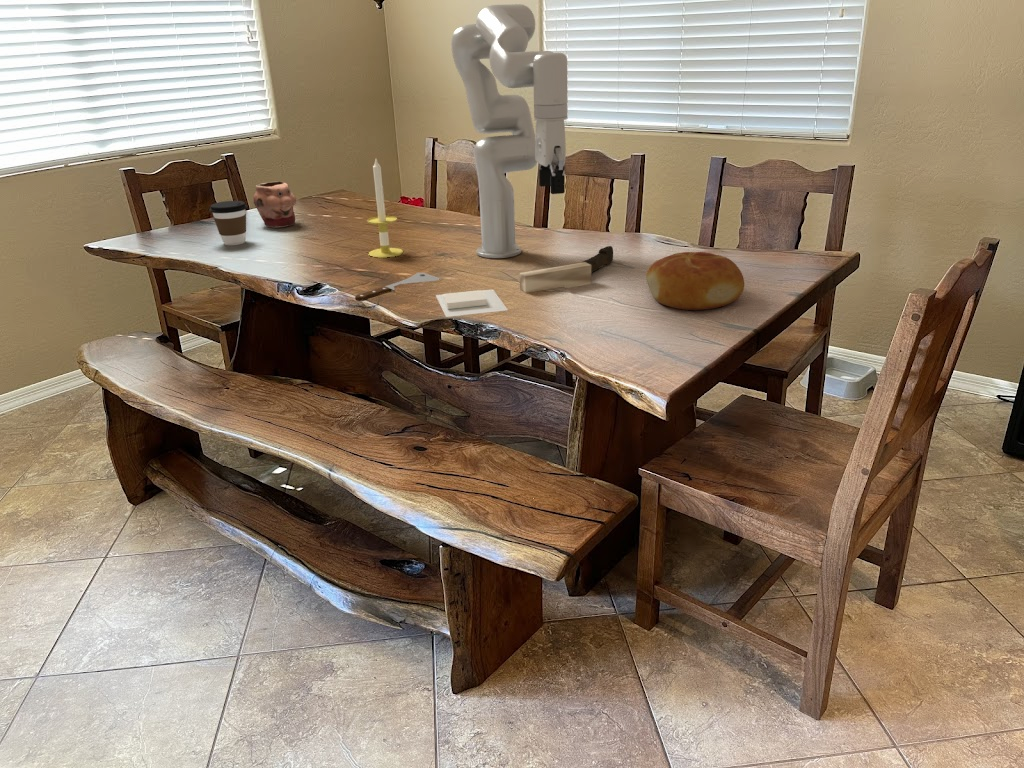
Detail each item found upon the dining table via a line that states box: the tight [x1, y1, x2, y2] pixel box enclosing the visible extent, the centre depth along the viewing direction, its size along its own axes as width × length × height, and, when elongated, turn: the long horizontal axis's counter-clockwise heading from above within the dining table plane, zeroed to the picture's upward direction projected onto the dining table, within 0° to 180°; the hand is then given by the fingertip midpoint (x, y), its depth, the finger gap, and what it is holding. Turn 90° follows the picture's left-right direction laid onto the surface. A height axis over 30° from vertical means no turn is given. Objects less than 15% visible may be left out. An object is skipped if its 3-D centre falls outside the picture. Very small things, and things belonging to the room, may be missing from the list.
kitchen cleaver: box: [354, 272, 441, 302], centre depth 194 cm, size 24×1×10 cm
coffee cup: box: [209, 200, 248, 246], centre depth 239 cm, size 11×11×12 cm
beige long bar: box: [519, 261, 592, 294], centre depth 189 cm, size 3×18×5 cm, turn 115°
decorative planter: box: [253, 181, 297, 228], centre depth 260 cm, size 20×12×14 cm, turn 51°
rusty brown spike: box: [581, 245, 614, 273], centre depth 202 cm, size 19×4×5 cm, turn 144°
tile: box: [441, 289, 487, 310], centre depth 180 cm, size 7×2×9 cm
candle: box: [366, 158, 404, 259], centre depth 219 cm, size 10×10×27 cm
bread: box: [645, 251, 745, 311], centre depth 179 cm, size 23×23×10 cm
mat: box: [435, 288, 509, 318], centre depth 181 cm, size 16×14×1 cm
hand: (551, 189), depth 182 cm, fingers open, 9 cm apart
